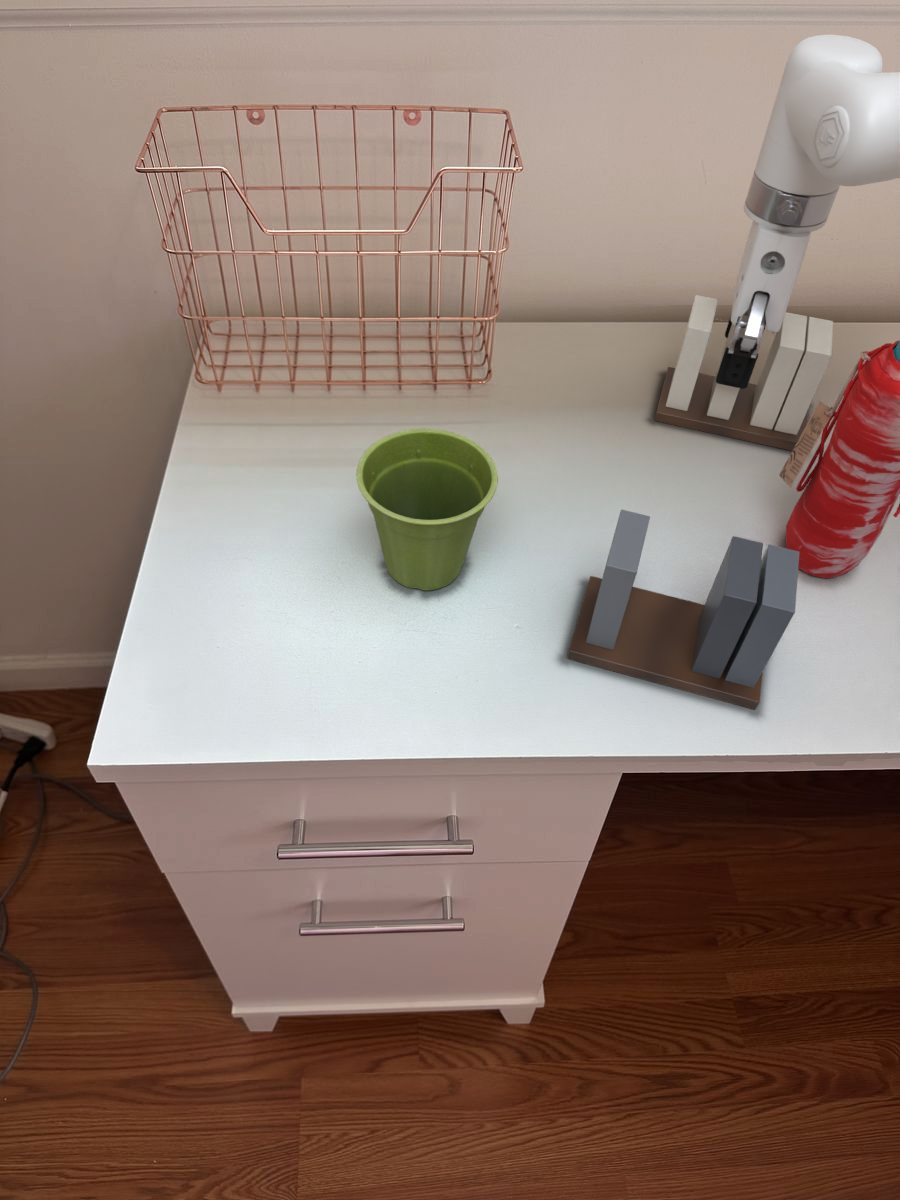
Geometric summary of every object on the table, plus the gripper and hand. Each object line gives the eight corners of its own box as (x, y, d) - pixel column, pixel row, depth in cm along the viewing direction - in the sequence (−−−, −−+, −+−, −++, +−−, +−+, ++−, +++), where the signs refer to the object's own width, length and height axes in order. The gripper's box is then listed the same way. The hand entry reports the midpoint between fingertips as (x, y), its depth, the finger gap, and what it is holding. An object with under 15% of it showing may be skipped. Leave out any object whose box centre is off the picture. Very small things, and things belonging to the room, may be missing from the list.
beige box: (734, 386, 97) (761, 307, 90) (728, 420, 93) (756, 340, 86) (713, 381, 98) (738, 302, 90) (706, 415, 94) (732, 335, 86)
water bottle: (730, 525, 85) (823, 295, 65) (786, 496, 88) (891, 267, 68) (825, 606, 78) (959, 377, 59) (881, 571, 81) (1026, 343, 62)
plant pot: (447, 632, 75) (451, 544, 66) (336, 577, 79) (327, 486, 70) (511, 549, 82) (523, 459, 73) (407, 502, 85) (406, 410, 77)
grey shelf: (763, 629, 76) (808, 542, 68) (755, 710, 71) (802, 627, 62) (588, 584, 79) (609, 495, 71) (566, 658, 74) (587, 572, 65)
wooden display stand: (805, 404, 98) (843, 316, 89) (801, 453, 92) (841, 364, 83) (666, 374, 100) (689, 287, 92) (654, 420, 95) (677, 331, 86)
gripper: (829, 250, 72) (764, 417, 86) (834, 165, 83) (776, 325, 96) (739, 234, 73) (689, 401, 87) (756, 152, 84) (709, 312, 98)
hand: (735, 360), depth 91 cm, fingers open, 8 cm apart
